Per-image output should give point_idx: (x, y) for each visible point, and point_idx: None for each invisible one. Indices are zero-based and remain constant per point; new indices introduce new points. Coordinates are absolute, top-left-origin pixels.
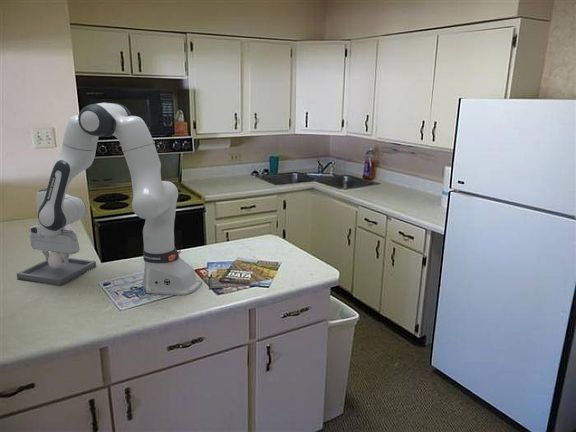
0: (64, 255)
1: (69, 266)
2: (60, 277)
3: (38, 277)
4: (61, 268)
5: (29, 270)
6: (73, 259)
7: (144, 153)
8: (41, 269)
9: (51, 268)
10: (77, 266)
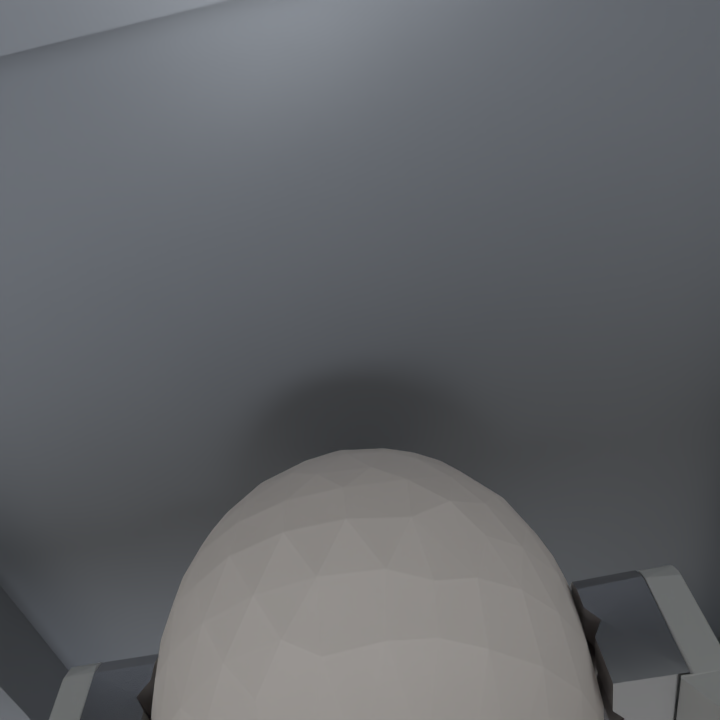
0: (557, 698)
1: (327, 214)
2: (606, 562)
3: None
4: (283, 366)
5: (50, 709)
6: (199, 6)
7: None
8: (35, 545)
9: (124, 453)
10: (505, 110)
